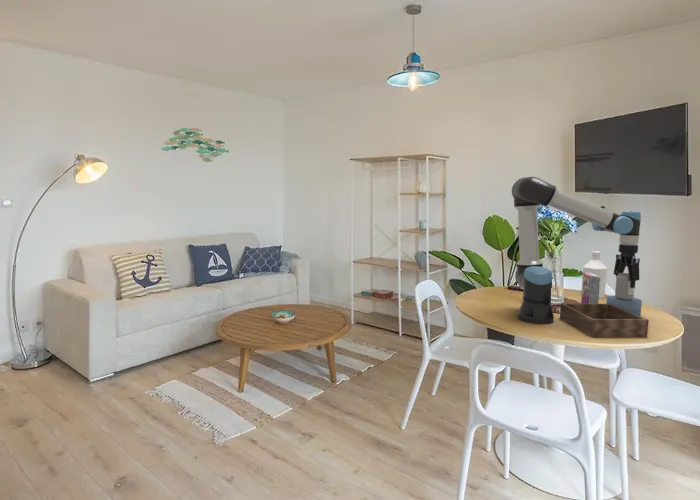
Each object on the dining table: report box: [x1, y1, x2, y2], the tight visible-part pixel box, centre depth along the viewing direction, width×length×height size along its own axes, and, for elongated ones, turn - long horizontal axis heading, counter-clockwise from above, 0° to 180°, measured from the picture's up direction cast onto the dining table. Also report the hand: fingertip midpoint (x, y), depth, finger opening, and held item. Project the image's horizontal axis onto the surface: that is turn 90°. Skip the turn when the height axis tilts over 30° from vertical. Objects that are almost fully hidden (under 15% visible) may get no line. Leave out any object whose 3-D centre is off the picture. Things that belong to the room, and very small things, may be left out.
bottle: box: [581, 250, 608, 299], centre depth 247 cm, size 12×12×25 cm
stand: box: [605, 295, 643, 317], centre depth 207 cm, size 14×14×8 cm
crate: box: [559, 303, 650, 338], centre depth 189 cm, size 22×26×7 cm
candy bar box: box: [580, 272, 600, 304], centre depth 224 cm, size 11×5×16 cm, turn 168°
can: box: [614, 272, 635, 300], centre depth 206 cm, size 8×8×12 cm
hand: (624, 292), depth 206 cm, fingers open, 8 cm apart
